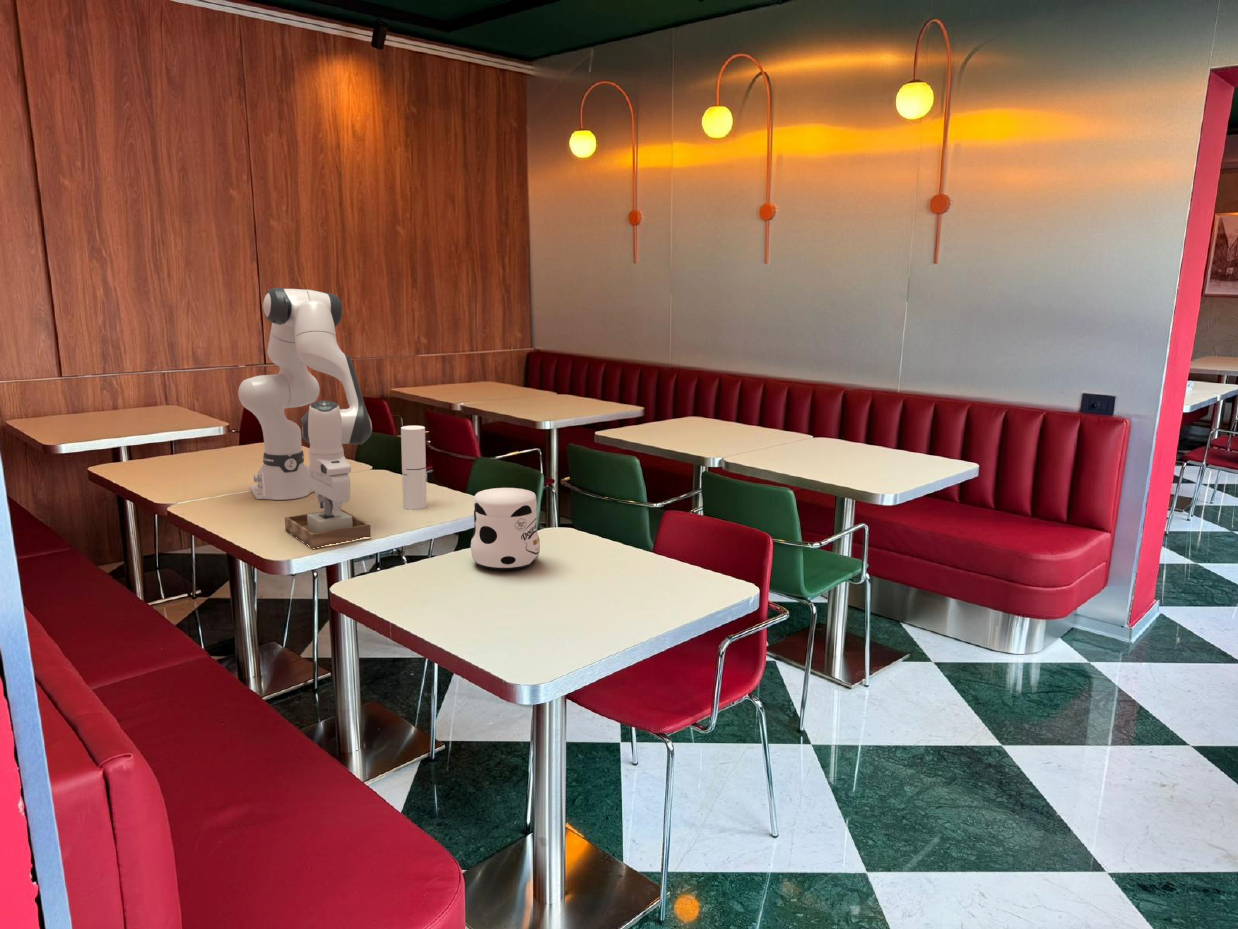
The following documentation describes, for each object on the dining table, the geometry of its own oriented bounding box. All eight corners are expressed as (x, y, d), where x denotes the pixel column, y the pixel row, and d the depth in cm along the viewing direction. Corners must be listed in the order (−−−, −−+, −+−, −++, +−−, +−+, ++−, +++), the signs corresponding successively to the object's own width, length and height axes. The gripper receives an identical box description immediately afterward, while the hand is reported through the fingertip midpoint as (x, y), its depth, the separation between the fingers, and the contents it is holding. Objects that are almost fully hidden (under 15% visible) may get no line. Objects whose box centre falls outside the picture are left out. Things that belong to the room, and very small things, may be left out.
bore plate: (307, 532, 238) (306, 514, 236) (339, 526, 243) (338, 509, 242) (320, 540, 231) (319, 522, 230) (352, 534, 237) (352, 516, 235)
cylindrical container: (420, 510, 265) (418, 430, 260) (399, 508, 267) (396, 428, 261) (430, 504, 272) (428, 426, 267) (409, 503, 273) (407, 424, 268)
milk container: (550, 570, 216) (550, 500, 212) (483, 579, 208) (482, 507, 204) (525, 549, 231) (526, 484, 227) (462, 557, 223) (461, 490, 219)
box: (285, 531, 241) (284, 517, 240) (341, 521, 251) (340, 508, 250) (312, 549, 226) (312, 534, 225) (370, 538, 236) (370, 524, 236)
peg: (322, 532, 237) (322, 493, 235) (333, 530, 239) (334, 492, 237) (327, 535, 235) (327, 496, 232) (338, 533, 237) (338, 494, 235)
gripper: (301, 456, 238) (303, 505, 241) (330, 470, 223) (332, 522, 226) (323, 454, 242) (325, 501, 245) (353, 467, 227) (355, 518, 230)
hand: (329, 511), depth 236 cm, fingers open, 8 cm apart
